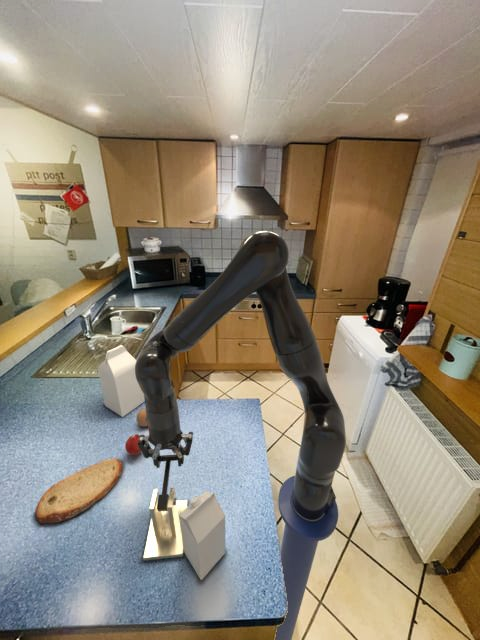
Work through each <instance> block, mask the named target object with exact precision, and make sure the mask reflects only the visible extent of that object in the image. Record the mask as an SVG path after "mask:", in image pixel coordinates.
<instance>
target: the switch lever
mask: <svg viewBox="0 0 480 640" xmlns="http://www.w3.org/2000/svg"><path fill="white" fill-rule="evenodd" d="M177 457H178V456H177V455H176V454H164V455H163V454H162V455H161V454H160V456H159V462H165V466H164V473H163V480H162V481H163V483H162V489H161V494H159V497H158V504H157V510H158V511H159V512H160V511H168V501H169V495H170V494H169V493H168V488H169V480H170V471H171V464H172V462H174V461H177V462H178V459H177Z"/></svg>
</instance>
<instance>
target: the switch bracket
mask: <svg viewBox="0 0 480 640" xmlns="http://www.w3.org/2000/svg"><path fill="white" fill-rule="evenodd" d="M176 494H177V493H176V488H175V487H170V488H169V494H168V495H169V501H168V511H160V512H159V511H158V510H157V504H158V497H159V495H160V493H159V489H158V488H155V489H153V490H152V496H151V499H150V501H149V513H150V514H149V515H150V522H149V527H148V530H147V531H148V532H147V536H146V542H145V546H144V551H143V557H142V560H143V561H144V562H145V561H155V560H165V559H173V558H182V557H184V550H183V543H182V535H181V528H180V520H179V514H181V513H182V512H183V511H184V510H185V509H186V508H187V507H188V506H189V502H188V501H189V500H188V499H181V500H177V496H176Z"/></svg>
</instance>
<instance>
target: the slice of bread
mask: <svg viewBox="0 0 480 640" xmlns="http://www.w3.org/2000/svg"><path fill="white" fill-rule="evenodd" d="M122 473H123V462H122V461H121V460H119V459H117V458H109V459H105V460H102V461H99V462H97V463H94V464H93V465H90V466H87V467H85V468H83V469H80V470H79V471H77V472H76V471H75V472H74V473H72V474H70V475H68V476H67V477H64V478H63V479H61V480H59V481H57V482H56V483H54V484H52V485H51V486H50V487H49V488H48V489H47V490H46V491H45V492H44V493H43V495H42V496H41V498H39V501H38V503H37V505H36V508H35V518H36V520H37V521H38V522H39V523H40V524H47V523H60V522H63V521H66V520H70V519H71V518H73V517H75V516H78V515H79V514H81V513H83V512H85V511H86V510H88V509H90V508H91V507H93V505H94V504H95V503H97V502H98V501H101V500H102V499H103V498H104V497H105V496H106V495H107V494H108V493H109V492H110V491H111V490H112V489H113V488H114V487H115V485H116V484H117V482H118V481H119V479H120V477H121V475H122Z"/></svg>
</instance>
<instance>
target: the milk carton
mask: <svg viewBox="0 0 480 640" xmlns="http://www.w3.org/2000/svg"><path fill="white" fill-rule="evenodd" d="M179 520H180V528H181V535H182V543H183V554H185V557H186V558H187V559H188V561H189V563H190V565H191V567H193V569H194V572H196V574H197V576H198V578H199V579H200V580H201V581H202V580H204V578H205V577H206V576H207V575H208V574H209V572H211V570H212V569H213V568H214V567H215V566H216V565H217V563H218V562H219V561H220V560H221V558H222V557H224V555H225V554H226V515H225V513H224V511H223V508H222V507H221V505H220V502H219V501H218V499H217V496H216V493H215V491H213V492H208V491H204V492H203V493H202V494H201V495H200V496H199V495H196V496H194V497H192V498H191V500H190V501H189V504H188V506H187V508H186V509H185V510H184V511H183V512H182V513H181V514H179Z"/></svg>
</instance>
